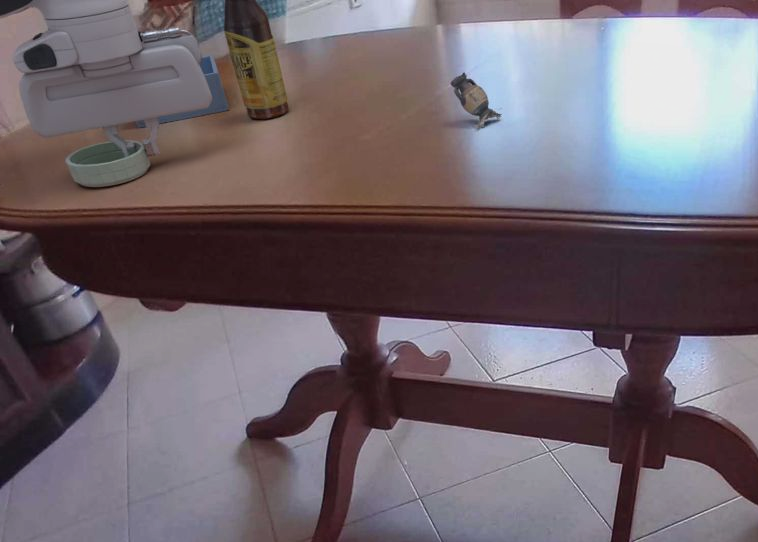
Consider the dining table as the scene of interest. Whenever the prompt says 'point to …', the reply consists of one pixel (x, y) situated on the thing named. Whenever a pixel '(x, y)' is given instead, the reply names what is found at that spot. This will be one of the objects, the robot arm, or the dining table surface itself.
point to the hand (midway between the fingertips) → (143, 156)
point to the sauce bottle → (255, 59)
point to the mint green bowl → (106, 164)
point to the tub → (215, 88)
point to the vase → (473, 99)
